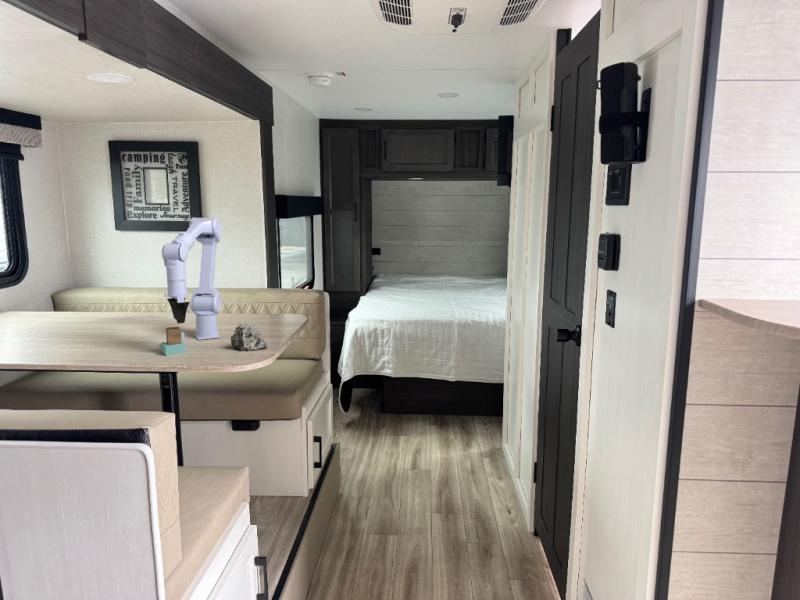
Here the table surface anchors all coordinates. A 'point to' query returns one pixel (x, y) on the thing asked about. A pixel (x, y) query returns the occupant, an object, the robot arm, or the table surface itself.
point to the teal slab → (172, 348)
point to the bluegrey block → (183, 337)
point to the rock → (247, 338)
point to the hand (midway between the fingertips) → (179, 321)
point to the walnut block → (173, 335)
